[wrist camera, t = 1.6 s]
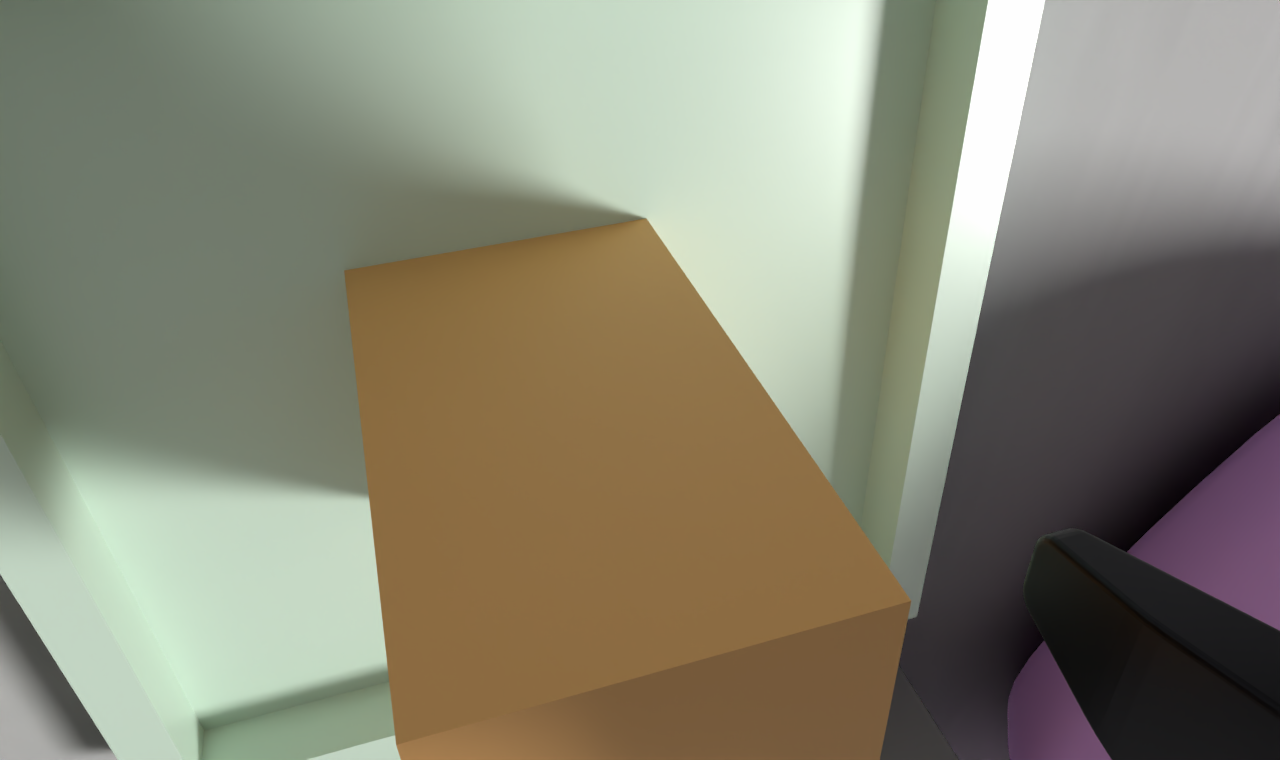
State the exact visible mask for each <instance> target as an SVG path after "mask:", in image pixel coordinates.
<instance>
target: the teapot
mask: <svg viewBox="0 0 1280 760" xmlns="http://www.w3.org/2000/svg"><path fill="white" fill-rule="evenodd" d="M1127 553H1129V554H1131V555H1133V556H1135V557H1137V558H1139V559H1141V560H1143V561H1145V562H1147V563H1149V564H1151V565H1152V566H1154V567H1156V568H1158V569H1160V570H1162V571H1164V572H1166V573H1168V574H1170V575H1172V576H1174V577H1176V578H1178V579H1180V580H1182V581H1184V582H1186V583H1188V584H1190V585H1192V586H1194V587H1196V588H1198V589H1200V590H1202V591H1203V592H1205V593H1207V594H1209V595H1211V596H1213V597H1215V598H1217V599H1219V600H1221V601H1223V602H1225V603H1227V604H1229V605H1231V606H1233V607H1235V608H1237V609H1239V610H1241V611H1243V612H1245V613H1247V614H1249V615H1251V616H1252V617H1254V618H1256V619H1258V620H1260V621H1262V622H1264V623H1266V624H1268V625H1270V626H1272V627H1274V628H1276V629H1278V630H1280V414H1279V415H1278V416H1277V417H1276V418H1274V419H1273V420H1272V421H1271V422H1269V423H1268V424H1267V425H1266V426H1264V427H1263V428H1262V429H1261V430H1259V431H1258V432H1257V433H1256V434H1254V435H1253V436H1252V437H1251V438H1250V439H1249V440H1248V441H1246V442H1245V443H1244V444H1243V445H1242V446H1241V447H1240V448H1239V449H1237V450H1236V451H1235V452H1234V453H1233V454H1232V455H1231V456H1230V457H1228V458H1227V459H1226V460H1225V461H1224V462H1223V463H1222V464H1221V465H1219V466H1218V467H1217V468H1216V469H1215V470H1214V471H1213V472H1211V473H1210V474H1209V475H1208V476H1207V477H1206V478H1205V479H1204V480H1202V481H1201V482H1200V483H1199V484H1198V485H1197V486H1196V487H1195V488H1194V489H1192V490H1191V491H1190V492H1189V493H1188V494H1187V495H1186V496H1185V497H1184V498H1183V499H1182V500H1181V501H1180V502H1178V503H1177V504H1176V505H1175V506H1174V507H1173V508H1172V509H1171V510H1170V511H1169V512H1168V513H1167V514H1166V515H1165V516H1163V517H1162V518H1161V519H1160V520H1159V521H1158V522H1157V523H1156V524H1155V525H1154V526H1153V527H1152V528H1151V529H1150V530H1148V531H1147V532H1146V533H1145V534H1144V535H1143V536H1142V537H1141V538H1140V539H1139V540H1138V541H1137V542H1136V543H1135V544H1134V545H1133V546H1132V547H1131V548H1130V549H1129V550H1128V551H1127ZM1008 749H1009V757H1010V760H1112V759H1111V758H1110V756H1109V755H1108V753H1107V752H1106V750H1105V749H1104V747H1103V745H1102V744H1101V742H1100V741H1099V739H1098V738H1097V736H1096V735H1095V733H1094V731H1093V729H1092V728H1091V726H1090V724H1089V722H1088V721H1087V719H1086V717H1085V715H1084V714H1083V712H1082V710H1081V708H1080V706H1079V704H1078V702H1077V701H1076V699H1075V697H1074V695H1073V693H1072V691H1071V689H1070V688H1069V686H1068V684H1067V682H1066V680H1065V678H1064V676H1063V674H1062V673H1061V671H1060V669H1059V667H1058V665H1057V663H1056V661H1055V660H1054V658H1053V656H1052V654H1051V652H1050V650H1049V648H1048V646H1047V645H1046V643H1045V641H1043V642H1042V644H1041V645H1040V646H1039V647H1038V648H1037V649H1036V651H1035V652H1034V653H1033V654H1032V655H1031V657H1030V658H1029V659H1028V661H1027V662H1026V664H1025V666H1024V667H1023V669H1022V670H1021V672H1020V673H1019V675H1018V676H1017V678H1016V679H1015V681H1014V684H1013V687H1012V689H1011V692H1010V695H1009V698H1008Z"/></svg>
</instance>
